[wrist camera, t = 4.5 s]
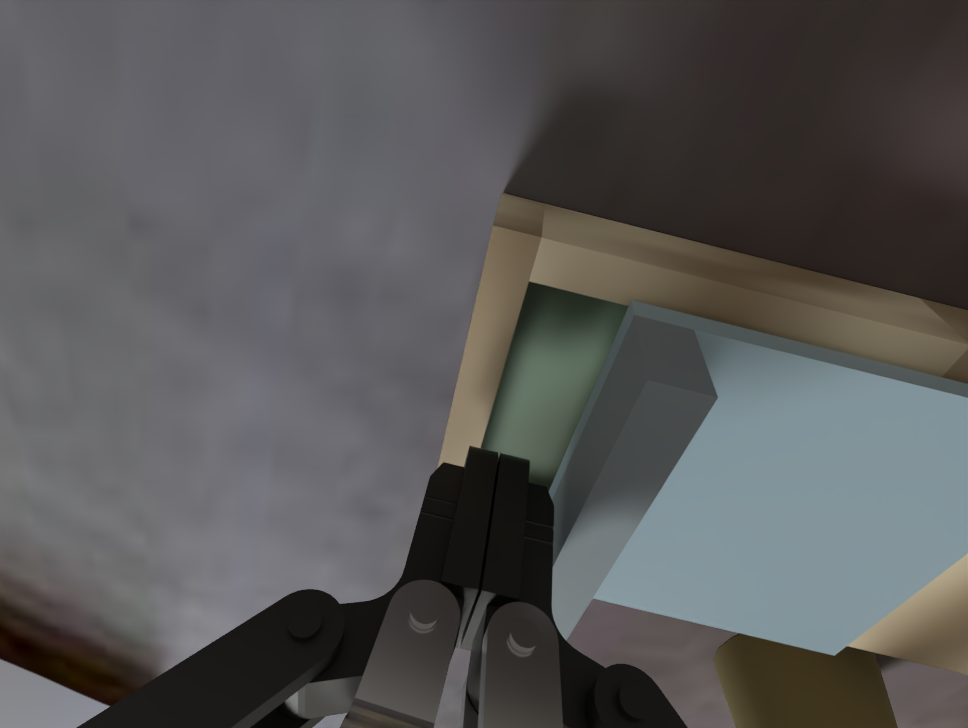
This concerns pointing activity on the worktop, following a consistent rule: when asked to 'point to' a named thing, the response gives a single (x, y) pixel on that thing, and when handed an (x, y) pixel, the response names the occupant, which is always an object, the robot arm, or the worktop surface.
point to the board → (692, 290)
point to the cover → (757, 483)
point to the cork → (801, 686)
